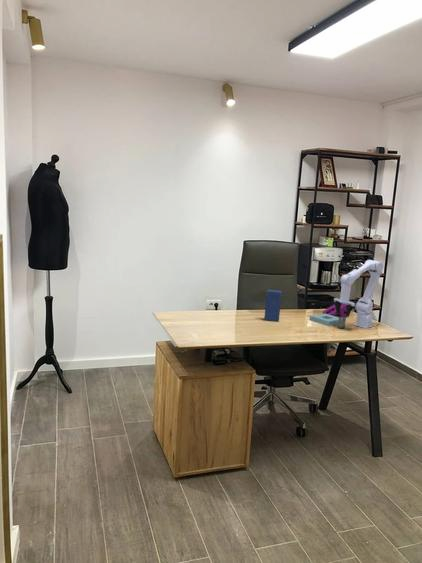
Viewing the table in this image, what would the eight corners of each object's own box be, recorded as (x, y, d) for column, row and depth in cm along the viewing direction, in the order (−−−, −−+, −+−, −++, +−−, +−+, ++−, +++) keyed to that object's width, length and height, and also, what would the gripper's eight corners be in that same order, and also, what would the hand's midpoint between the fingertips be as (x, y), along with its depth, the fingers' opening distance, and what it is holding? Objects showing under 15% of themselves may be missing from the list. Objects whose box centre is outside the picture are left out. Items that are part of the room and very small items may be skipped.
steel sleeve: (346, 328, 297) (347, 318, 296) (341, 329, 294) (343, 318, 293) (340, 327, 300) (341, 316, 299) (336, 327, 298) (337, 317, 296)
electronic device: (278, 320, 307) (281, 290, 304) (278, 321, 302) (281, 291, 299) (264, 318, 308) (266, 289, 304) (264, 320, 303) (267, 290, 299)
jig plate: (343, 323, 310) (344, 319, 309) (328, 326, 300) (328, 321, 300) (324, 317, 322) (325, 313, 322) (309, 320, 313) (310, 315, 312)
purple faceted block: (331, 326, 323) (350, 314, 329) (328, 316, 320) (347, 304, 326) (322, 323, 331) (341, 311, 338) (319, 313, 328) (338, 301, 335)
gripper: (332, 292, 297) (329, 312, 299) (350, 296, 285) (348, 318, 288) (339, 291, 301) (336, 311, 303) (357, 295, 289) (355, 316, 292)
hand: (342, 314), depth 296 cm, fingers open, 7 cm apart
